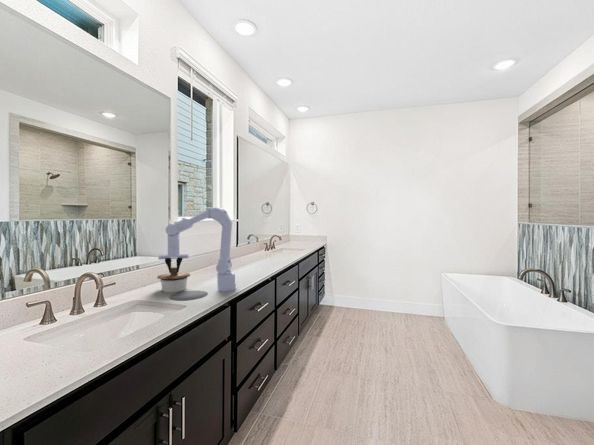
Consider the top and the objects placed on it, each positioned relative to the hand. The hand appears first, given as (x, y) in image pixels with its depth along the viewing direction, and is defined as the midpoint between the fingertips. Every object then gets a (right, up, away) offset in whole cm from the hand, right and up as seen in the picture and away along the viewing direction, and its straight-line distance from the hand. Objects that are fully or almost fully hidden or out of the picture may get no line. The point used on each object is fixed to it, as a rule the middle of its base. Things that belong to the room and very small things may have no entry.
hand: (174, 272), depth 152 cm
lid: (0, -2, 0) cm, 2 cm away
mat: (+12, -10, -11) cm, 19 cm away
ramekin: (0, -10, 0) cm, 10 cm away
